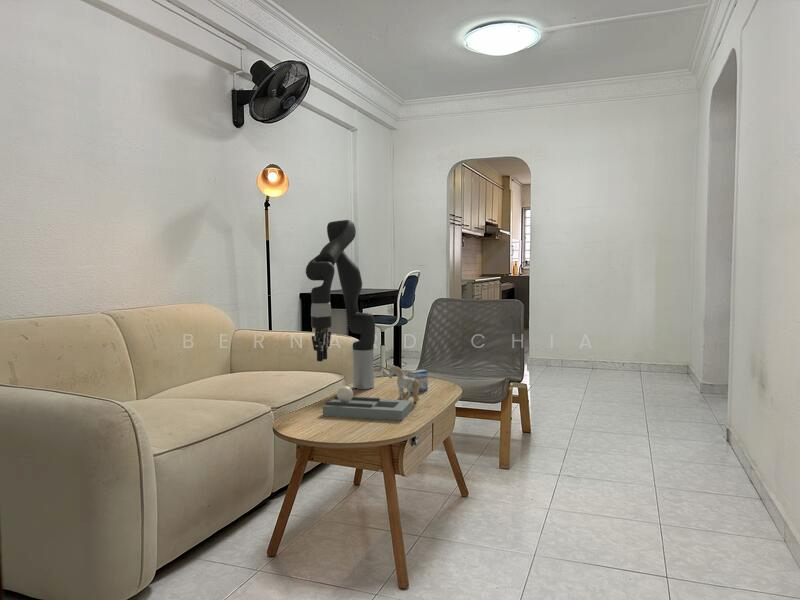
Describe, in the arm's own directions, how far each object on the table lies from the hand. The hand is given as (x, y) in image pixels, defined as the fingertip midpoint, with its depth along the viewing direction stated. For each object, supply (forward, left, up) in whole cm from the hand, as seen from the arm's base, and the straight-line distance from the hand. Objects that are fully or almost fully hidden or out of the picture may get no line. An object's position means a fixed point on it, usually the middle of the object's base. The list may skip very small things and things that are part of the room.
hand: (322, 360), depth 220 cm
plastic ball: (0, +9, -13) cm, 16 cm away
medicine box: (-39, +28, -19) cm, 52 cm away
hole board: (0, +18, -19) cm, 26 cm away
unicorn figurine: (-19, +25, -19) cm, 37 cm away
